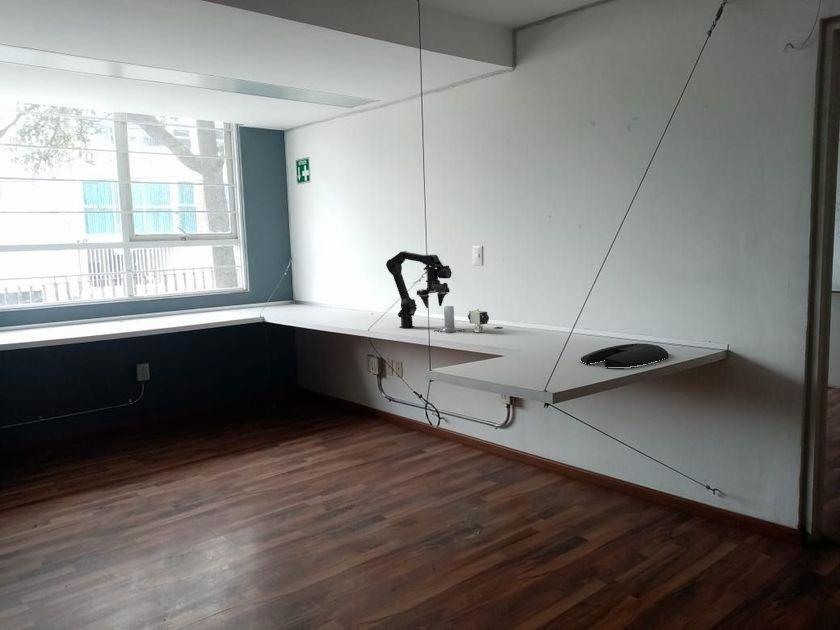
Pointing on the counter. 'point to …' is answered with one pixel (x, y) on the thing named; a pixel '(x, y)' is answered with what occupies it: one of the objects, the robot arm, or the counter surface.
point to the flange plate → (449, 330)
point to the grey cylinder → (449, 318)
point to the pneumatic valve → (478, 319)
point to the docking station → (627, 355)
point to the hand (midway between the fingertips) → (433, 307)
